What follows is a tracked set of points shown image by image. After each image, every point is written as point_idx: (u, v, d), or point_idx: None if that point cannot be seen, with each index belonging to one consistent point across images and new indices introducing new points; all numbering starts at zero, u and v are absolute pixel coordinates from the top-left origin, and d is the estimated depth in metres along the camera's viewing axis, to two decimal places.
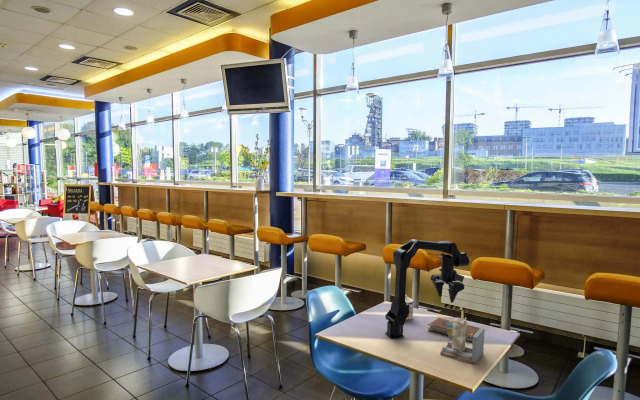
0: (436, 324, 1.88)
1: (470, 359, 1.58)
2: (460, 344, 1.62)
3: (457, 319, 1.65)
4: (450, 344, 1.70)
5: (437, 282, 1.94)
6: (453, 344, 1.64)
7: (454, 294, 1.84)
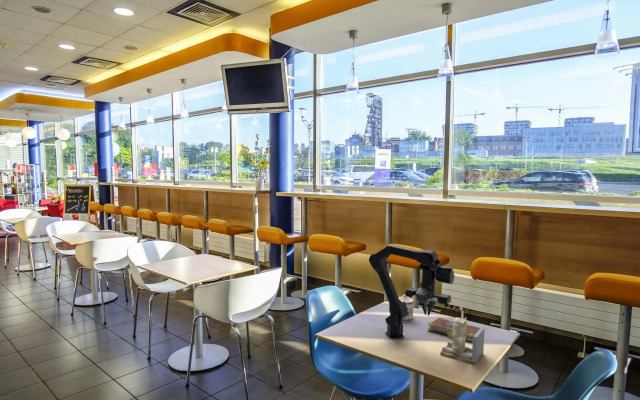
0: (436, 324, 1.88)
1: (470, 359, 1.58)
2: (460, 344, 1.62)
3: (457, 319, 1.65)
4: (450, 344, 1.70)
5: None
6: (453, 344, 1.64)
7: None
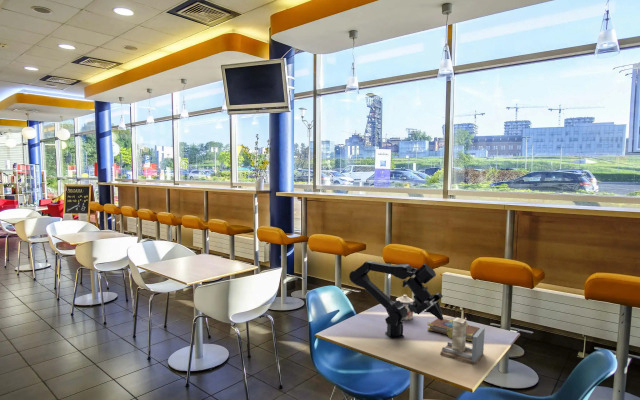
0: (436, 324, 1.88)
1: (470, 359, 1.58)
2: (460, 344, 1.62)
3: (457, 319, 1.65)
4: (450, 344, 1.70)
5: None
6: (453, 344, 1.64)
7: None
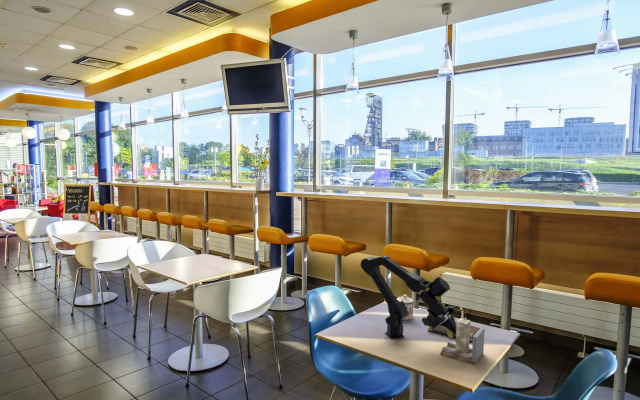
0: None
1: (470, 359, 1.58)
2: (464, 345, 1.61)
3: (461, 320, 1.64)
4: (450, 344, 1.70)
5: None
6: (457, 345, 1.63)
7: None
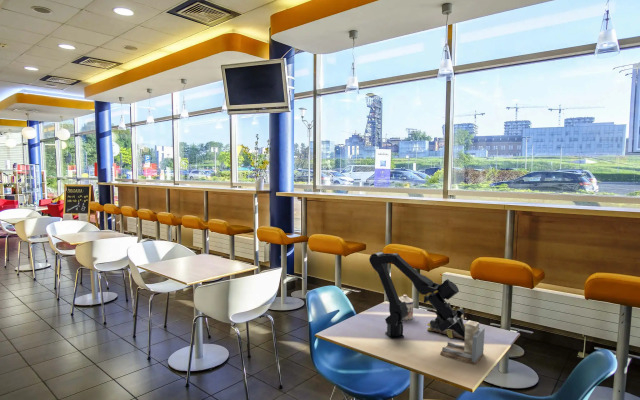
0: None
1: (470, 359, 1.58)
2: None
3: (469, 322, 1.62)
4: (450, 344, 1.70)
5: None
6: (465, 347, 1.61)
7: None
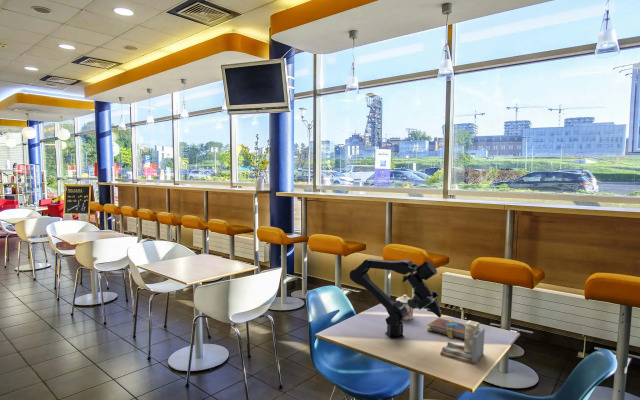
0: (435, 324, 1.88)
1: (470, 359, 1.58)
2: None
3: (469, 322, 1.62)
4: (450, 344, 1.70)
5: None
6: (465, 347, 1.61)
7: None
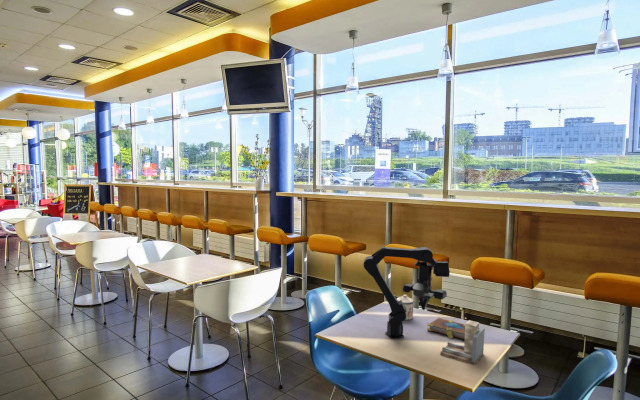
0: (435, 325, 1.88)
1: (470, 359, 1.58)
2: None
3: (469, 322, 1.62)
4: (450, 344, 1.70)
5: None
6: (465, 347, 1.61)
7: None
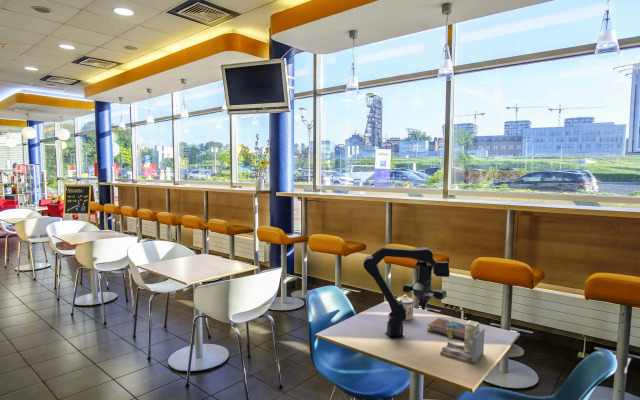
0: (435, 325, 1.88)
1: (470, 359, 1.58)
2: None
3: (469, 322, 1.62)
4: (450, 344, 1.70)
5: None
6: (465, 347, 1.61)
7: None
